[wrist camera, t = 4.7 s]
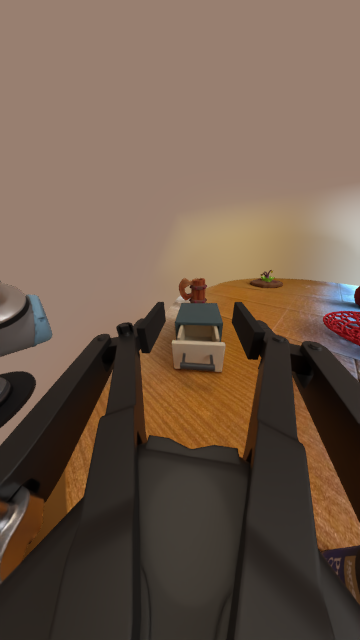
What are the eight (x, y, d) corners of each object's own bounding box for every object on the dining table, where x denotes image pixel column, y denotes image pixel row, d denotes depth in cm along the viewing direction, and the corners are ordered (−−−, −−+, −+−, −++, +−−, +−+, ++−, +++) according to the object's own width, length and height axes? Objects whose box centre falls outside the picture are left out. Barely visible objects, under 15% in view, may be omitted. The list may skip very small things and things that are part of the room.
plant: (264, 289, 95) (268, 272, 90) (246, 283, 112) (248, 269, 107) (287, 286, 99) (292, 270, 94) (266, 281, 116) (269, 267, 111)
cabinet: (219, 352, 39) (223, 323, 35) (176, 349, 41) (174, 322, 36) (214, 326, 52) (216, 303, 48) (182, 325, 54) (181, 303, 49)
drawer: (224, 388, 28) (229, 360, 24) (170, 383, 29) (167, 356, 26) (215, 338, 43) (218, 317, 40) (181, 337, 45) (179, 316, 41)
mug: (204, 302, 76) (205, 275, 70) (208, 307, 69) (210, 278, 62) (179, 304, 76) (177, 277, 69) (180, 310, 68) (179, 280, 61)
